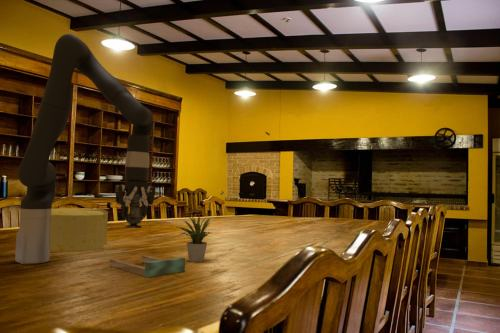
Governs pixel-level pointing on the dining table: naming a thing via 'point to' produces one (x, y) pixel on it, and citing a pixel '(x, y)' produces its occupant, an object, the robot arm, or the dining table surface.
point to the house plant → (196, 240)
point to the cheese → (78, 229)
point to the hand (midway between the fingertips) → (134, 217)
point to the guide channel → (151, 266)
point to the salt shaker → (134, 213)
